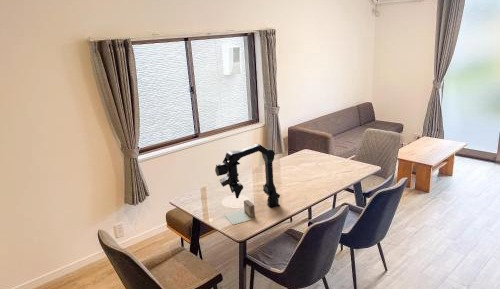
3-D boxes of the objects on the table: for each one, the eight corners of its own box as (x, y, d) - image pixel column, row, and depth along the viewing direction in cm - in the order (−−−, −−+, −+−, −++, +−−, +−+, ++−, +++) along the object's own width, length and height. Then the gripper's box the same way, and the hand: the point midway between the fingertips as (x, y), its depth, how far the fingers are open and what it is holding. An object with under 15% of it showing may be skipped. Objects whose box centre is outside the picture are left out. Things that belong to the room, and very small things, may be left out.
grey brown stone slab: (248, 210, 235) (248, 199, 233) (255, 216, 227) (254, 205, 225) (244, 212, 234) (243, 200, 231) (250, 217, 226) (249, 206, 224)
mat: (241, 210, 236) (241, 210, 235) (251, 219, 223) (250, 219, 223) (224, 215, 231) (224, 215, 231) (233, 225, 219) (233, 224, 219)
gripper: (216, 169, 227) (218, 192, 232) (224, 179, 210) (226, 204, 215) (233, 166, 230) (235, 189, 235) (242, 176, 214) (244, 200, 218)
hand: (234, 195), depth 226 cm, fingers open, 9 cm apart
